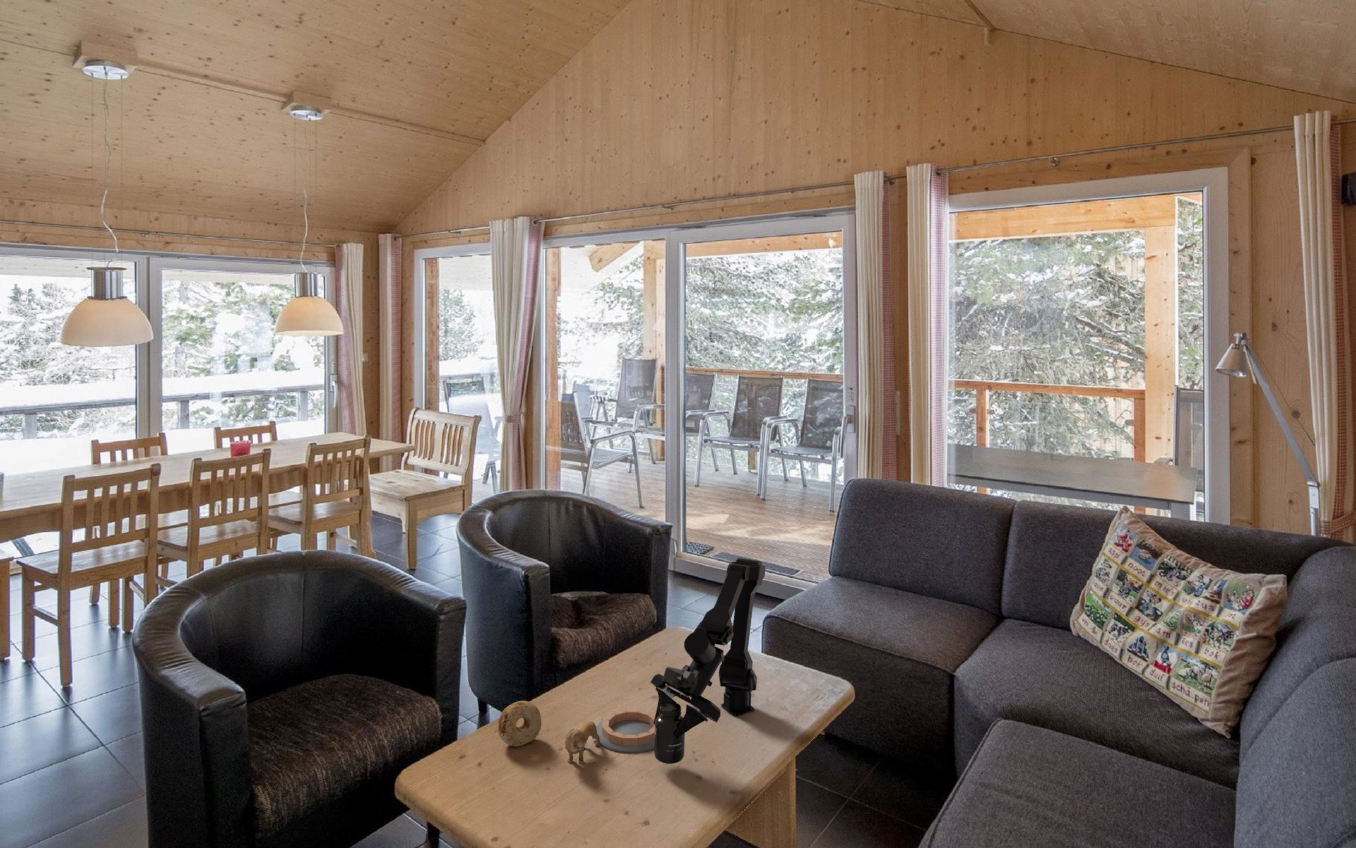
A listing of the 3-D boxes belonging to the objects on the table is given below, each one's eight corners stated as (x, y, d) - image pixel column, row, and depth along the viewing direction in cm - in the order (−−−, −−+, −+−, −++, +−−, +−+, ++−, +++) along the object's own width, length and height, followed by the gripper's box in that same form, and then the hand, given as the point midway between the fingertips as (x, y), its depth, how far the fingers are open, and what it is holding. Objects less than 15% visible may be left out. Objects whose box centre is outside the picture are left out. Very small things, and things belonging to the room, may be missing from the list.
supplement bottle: (674, 768, 176) (674, 717, 175) (648, 759, 180) (648, 709, 178) (690, 754, 182) (691, 704, 181) (665, 745, 186) (665, 696, 184)
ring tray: (645, 708, 209) (645, 699, 208) (681, 740, 194) (681, 730, 193) (582, 726, 199) (582, 716, 199) (615, 760, 184) (615, 750, 184)
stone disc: (502, 753, 187) (502, 712, 185) (497, 746, 190) (496, 706, 188) (544, 741, 192) (543, 701, 191) (538, 734, 195) (537, 695, 194)
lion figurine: (582, 774, 179) (582, 736, 178) (560, 770, 180) (560, 733, 179) (603, 740, 193) (603, 705, 192) (582, 738, 194) (582, 702, 193)
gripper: (656, 640, 187) (619, 699, 182) (712, 667, 173) (673, 732, 168) (681, 662, 194) (645, 720, 188) (737, 690, 180) (700, 754, 174)
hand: (665, 731), depth 179 cm, fingers closed on supplement bottle, 7 cm apart
